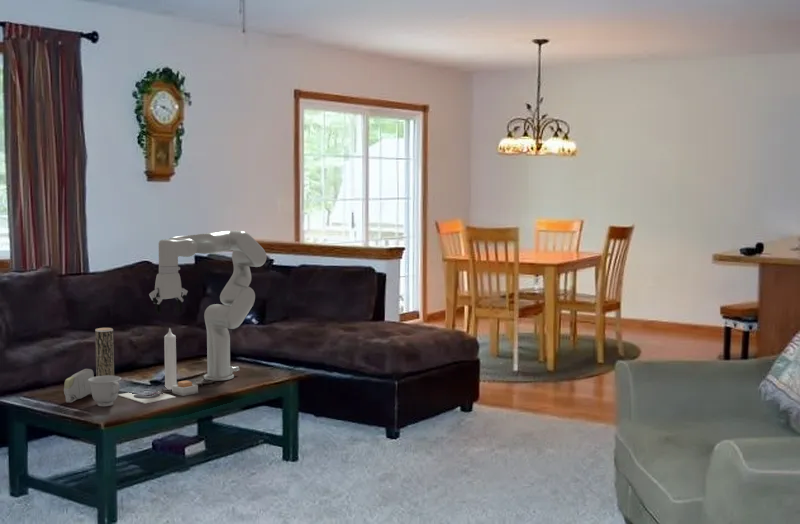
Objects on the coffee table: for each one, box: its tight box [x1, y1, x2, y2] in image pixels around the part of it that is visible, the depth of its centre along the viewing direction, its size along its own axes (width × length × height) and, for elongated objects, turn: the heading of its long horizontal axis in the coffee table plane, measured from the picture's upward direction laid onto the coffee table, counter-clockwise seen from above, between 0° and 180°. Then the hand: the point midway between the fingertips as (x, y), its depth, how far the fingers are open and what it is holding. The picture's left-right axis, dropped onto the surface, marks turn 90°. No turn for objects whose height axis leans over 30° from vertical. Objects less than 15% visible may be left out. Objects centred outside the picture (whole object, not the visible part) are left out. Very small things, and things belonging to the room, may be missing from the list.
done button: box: [177, 379, 193, 388], centre depth 390 cm, size 4×4×2 cm
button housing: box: [171, 383, 199, 397], centre depth 390 cm, size 7×7×3 cm
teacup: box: [88, 375, 122, 407], centre depth 369 cm, size 12×15×10 cm
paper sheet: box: [117, 392, 177, 405], centre depth 384 cm, size 14×19×1 cm
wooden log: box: [94, 327, 115, 377], centre depth 392 cm, size 7×7×25 cm
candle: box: [163, 327, 177, 389], centre depth 396 cm, size 7×7×25 cm
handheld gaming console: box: [63, 368, 95, 404], centre depth 379 cm, size 11×3×15 cm
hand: (168, 312), depth 394 cm, fingers open, 9 cm apart
